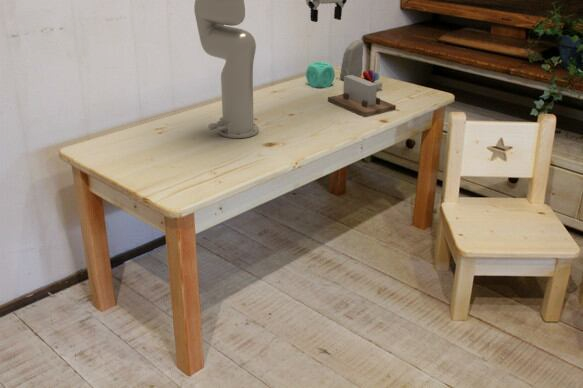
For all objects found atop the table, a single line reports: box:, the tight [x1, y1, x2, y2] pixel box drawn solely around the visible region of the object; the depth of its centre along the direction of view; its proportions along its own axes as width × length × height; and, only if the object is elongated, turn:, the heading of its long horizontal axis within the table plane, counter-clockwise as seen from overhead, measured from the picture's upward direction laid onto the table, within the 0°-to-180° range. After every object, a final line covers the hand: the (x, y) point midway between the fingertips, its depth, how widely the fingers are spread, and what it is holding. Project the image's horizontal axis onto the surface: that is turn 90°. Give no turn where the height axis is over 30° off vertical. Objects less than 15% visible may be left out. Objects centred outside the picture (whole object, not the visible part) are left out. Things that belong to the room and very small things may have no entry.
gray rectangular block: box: [342, 75, 378, 106], centre depth 221 cm, size 4×14×7 cm, turn 33°
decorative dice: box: [305, 61, 336, 89], centre depth 242 cm, size 8×8×8 cm
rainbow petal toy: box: [359, 69, 383, 91], centre depth 238 cm, size 8×10×7 cm
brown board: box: [327, 93, 397, 118], centre depth 221 cm, size 14×20×4 cm
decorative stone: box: [339, 39, 364, 81], centre depth 249 cm, size 11×6×15 cm, turn 143°
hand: (325, 20), depth 213 cm, fingers open, 9 cm apart
